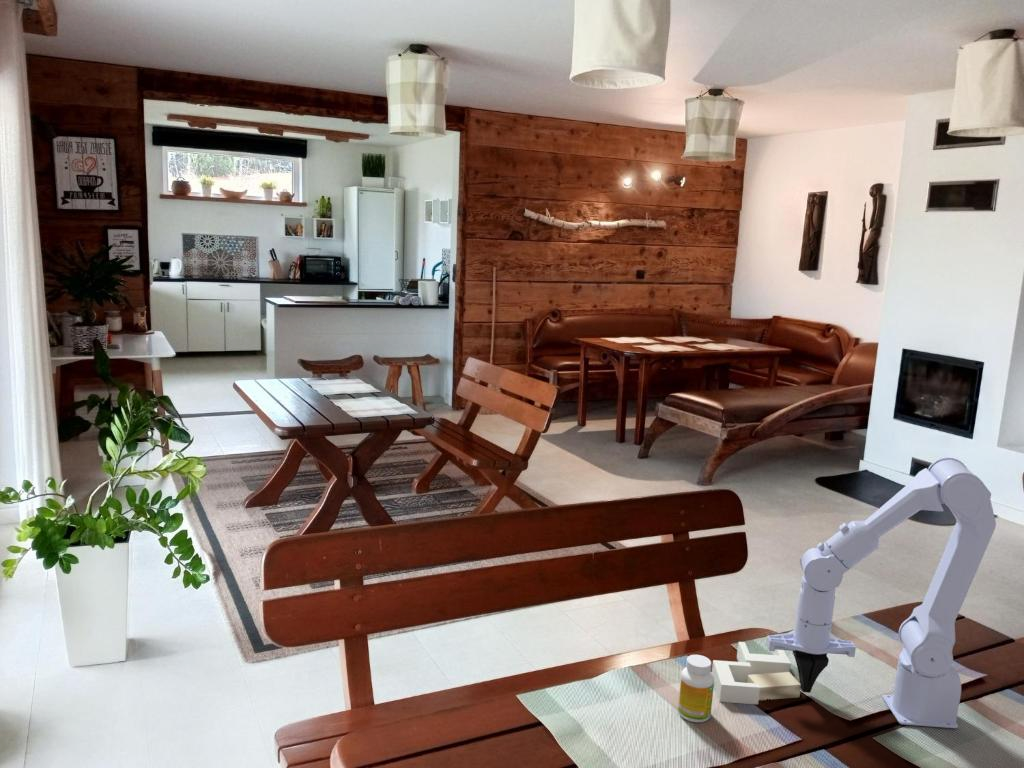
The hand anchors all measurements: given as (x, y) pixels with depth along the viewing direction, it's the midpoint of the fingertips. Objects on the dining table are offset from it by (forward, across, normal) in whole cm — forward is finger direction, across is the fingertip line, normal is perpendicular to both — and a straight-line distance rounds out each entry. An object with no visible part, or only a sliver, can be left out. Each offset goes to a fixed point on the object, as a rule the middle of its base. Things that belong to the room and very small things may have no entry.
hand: (804, 689), depth 141 cm
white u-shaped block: (+1, +5, -8) cm, 10 cm away
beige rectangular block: (+1, +5, 0) cm, 6 cm away
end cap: (+1, +12, 0) cm, 12 cm away
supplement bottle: (+1, +20, +8) cm, 22 cm away
